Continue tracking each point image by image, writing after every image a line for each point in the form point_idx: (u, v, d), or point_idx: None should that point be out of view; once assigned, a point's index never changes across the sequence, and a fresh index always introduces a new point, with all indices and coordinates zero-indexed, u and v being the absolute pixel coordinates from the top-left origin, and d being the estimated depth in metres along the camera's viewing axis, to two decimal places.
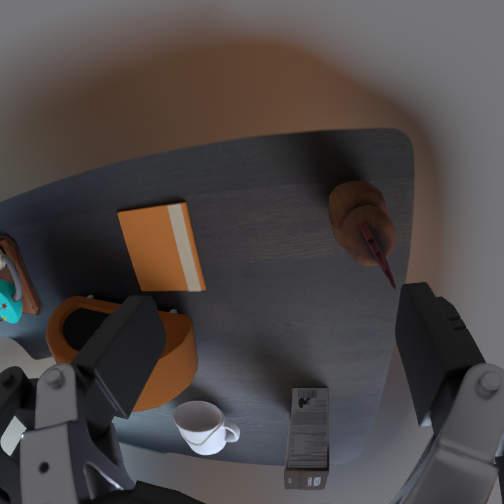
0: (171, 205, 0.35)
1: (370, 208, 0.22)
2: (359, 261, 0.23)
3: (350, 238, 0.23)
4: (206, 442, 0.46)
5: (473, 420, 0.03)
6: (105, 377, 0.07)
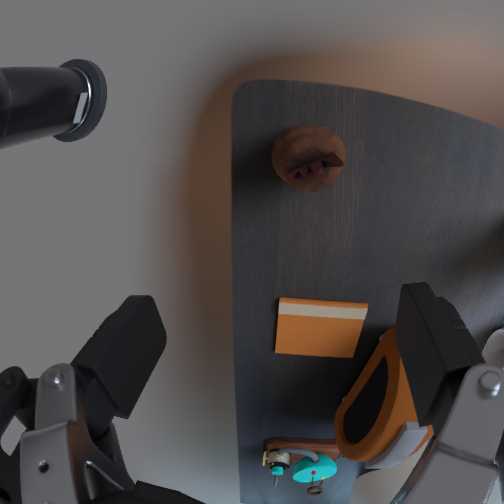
0: (279, 310, 0.40)
1: (278, 160, 0.22)
2: (331, 181, 0.22)
3: (303, 188, 0.22)
4: None
5: (473, 420, 0.03)
6: (105, 377, 0.07)
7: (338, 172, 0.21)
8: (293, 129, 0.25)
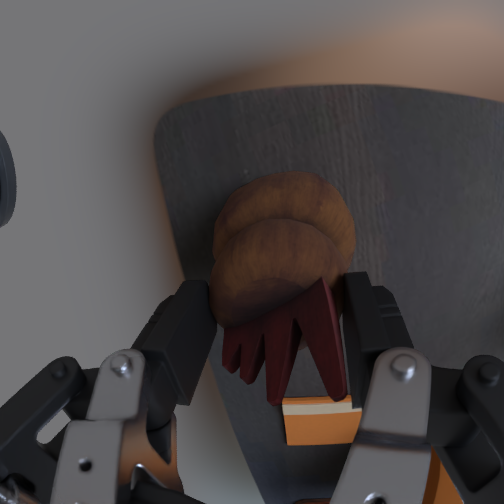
0: (283, 411, 0.27)
1: None
2: None
3: None
4: None
5: (377, 398, 0.04)
6: (173, 361, 0.07)
7: (340, 311, 0.09)
8: (243, 199, 0.13)
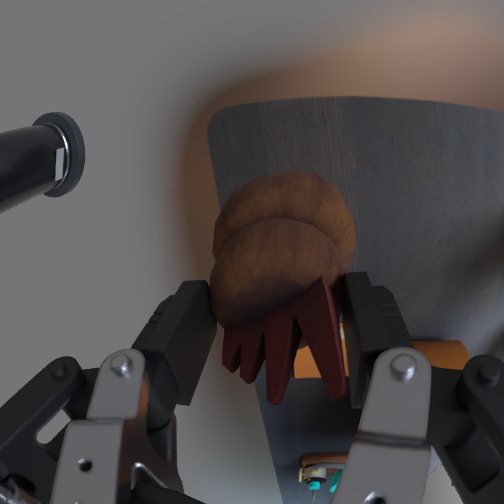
0: None
1: None
2: None
3: None
4: None
5: (377, 398, 0.04)
6: (173, 361, 0.07)
7: (340, 311, 0.09)
8: (243, 199, 0.13)
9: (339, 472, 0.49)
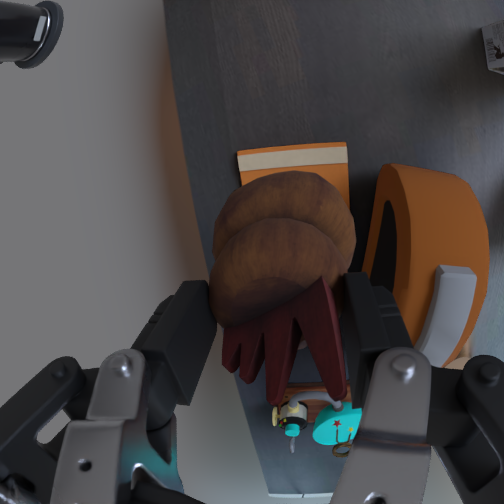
0: (239, 166, 0.33)
1: None
2: None
3: None
4: None
5: (377, 398, 0.04)
6: (173, 361, 0.07)
7: (340, 311, 0.09)
8: (243, 198, 0.13)
9: (323, 410, 0.44)
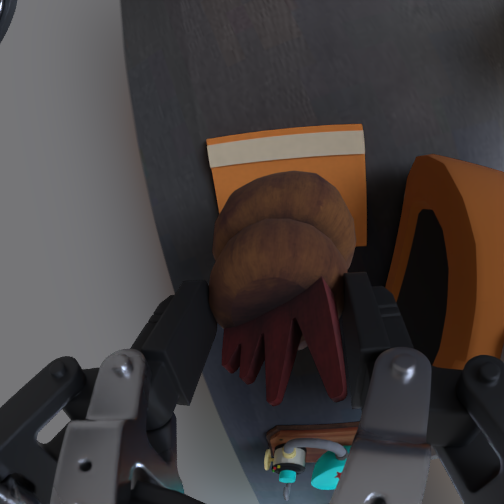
0: (210, 160, 0.23)
1: None
2: None
3: None
4: None
5: (377, 398, 0.04)
6: (173, 361, 0.07)
7: (340, 311, 0.09)
8: (243, 198, 0.13)
9: (324, 456, 0.34)
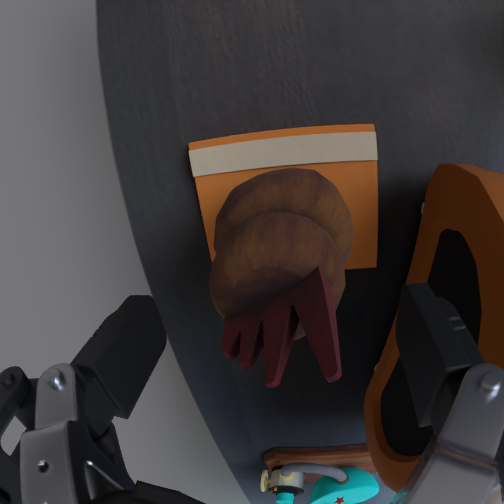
0: (192, 168, 0.19)
1: None
2: None
3: None
4: None
5: (473, 420, 0.03)
6: (105, 377, 0.07)
7: (337, 301, 0.10)
8: (243, 194, 0.13)
9: (324, 479, 0.30)
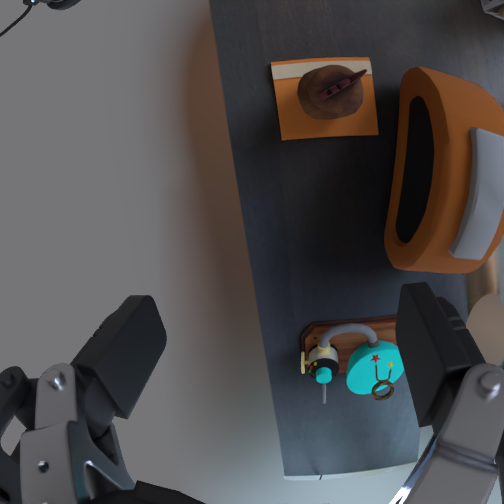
0: (273, 75, 0.31)
1: (308, 89, 0.23)
2: (357, 98, 0.22)
3: (335, 108, 0.22)
4: None
5: (473, 420, 0.03)
6: (105, 377, 0.07)
7: (361, 91, 0.22)
8: (313, 70, 0.25)
9: (357, 350, 0.42)
